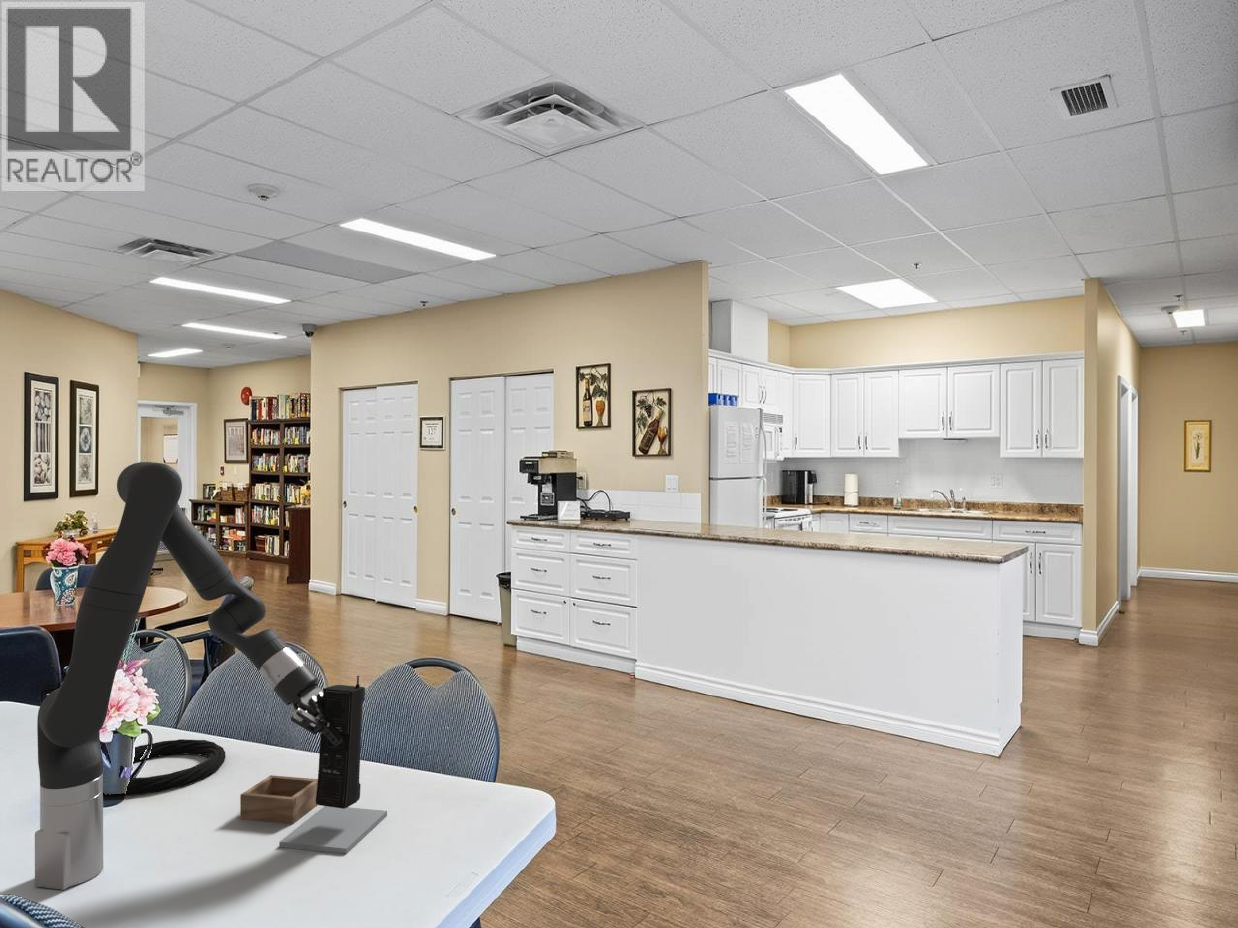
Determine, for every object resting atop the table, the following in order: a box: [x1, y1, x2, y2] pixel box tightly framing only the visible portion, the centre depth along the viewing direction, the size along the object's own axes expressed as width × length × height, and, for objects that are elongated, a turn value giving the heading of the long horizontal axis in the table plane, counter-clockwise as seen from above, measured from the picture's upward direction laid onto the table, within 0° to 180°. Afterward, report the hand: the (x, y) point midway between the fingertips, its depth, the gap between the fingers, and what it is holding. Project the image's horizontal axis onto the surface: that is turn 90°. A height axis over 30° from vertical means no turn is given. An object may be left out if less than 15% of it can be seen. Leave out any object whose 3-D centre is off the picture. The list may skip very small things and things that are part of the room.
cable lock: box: [125, 739, 226, 796], centre depth 184 cm, size 28×4×30 cm
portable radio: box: [316, 675, 366, 809], centre depth 157 cm, size 8×6×25 cm
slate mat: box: [278, 806, 388, 855], centre depth 156 cm, size 16×14×1 cm
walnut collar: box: [239, 774, 318, 825], centre depth 164 cm, size 10×12×5 cm
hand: (344, 740), depth 155 cm, fingers closed on portable radio, 2 cm apart
